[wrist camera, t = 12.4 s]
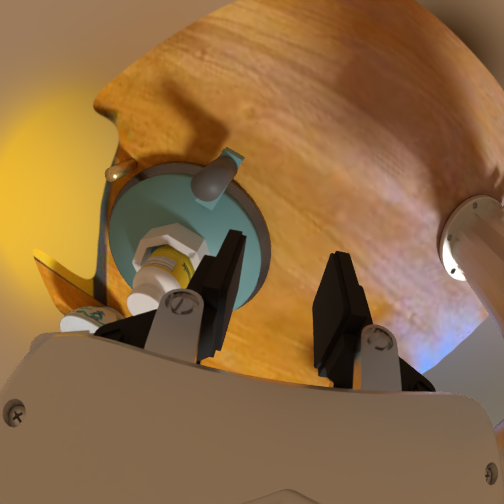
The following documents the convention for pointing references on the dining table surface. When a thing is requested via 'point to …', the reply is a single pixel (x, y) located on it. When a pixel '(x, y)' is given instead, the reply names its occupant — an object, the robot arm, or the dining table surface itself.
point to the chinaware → (89, 318)
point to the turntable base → (232, 188)
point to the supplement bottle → (159, 278)
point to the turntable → (184, 220)
